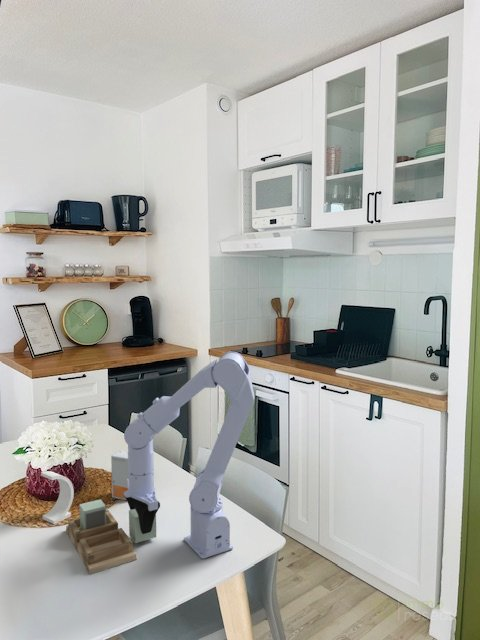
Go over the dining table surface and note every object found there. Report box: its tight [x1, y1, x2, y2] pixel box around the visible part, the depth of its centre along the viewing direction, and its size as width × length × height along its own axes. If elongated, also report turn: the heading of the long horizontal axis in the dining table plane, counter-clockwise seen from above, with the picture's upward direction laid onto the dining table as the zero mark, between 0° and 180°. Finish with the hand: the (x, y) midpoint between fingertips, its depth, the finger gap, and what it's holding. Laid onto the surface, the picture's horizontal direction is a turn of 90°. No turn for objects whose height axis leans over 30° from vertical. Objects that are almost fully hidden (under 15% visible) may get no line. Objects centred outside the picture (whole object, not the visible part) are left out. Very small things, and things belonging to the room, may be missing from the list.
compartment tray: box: [65, 509, 137, 575], centre depth 115 cm, size 20×10×3 cm, turn 32°
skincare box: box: [110, 450, 129, 502], centre depth 139 cm, size 6×4×12 cm
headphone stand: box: [40, 470, 75, 525], centre depth 128 cm, size 5×6×12 cm
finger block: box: [128, 509, 157, 544], centre depth 117 cm, size 4×5×6 cm
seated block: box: [78, 499, 107, 531], centre depth 119 cm, size 4×5×6 cm
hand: (142, 527), depth 117 cm, fingers closed on finger block, 4 cm apart
